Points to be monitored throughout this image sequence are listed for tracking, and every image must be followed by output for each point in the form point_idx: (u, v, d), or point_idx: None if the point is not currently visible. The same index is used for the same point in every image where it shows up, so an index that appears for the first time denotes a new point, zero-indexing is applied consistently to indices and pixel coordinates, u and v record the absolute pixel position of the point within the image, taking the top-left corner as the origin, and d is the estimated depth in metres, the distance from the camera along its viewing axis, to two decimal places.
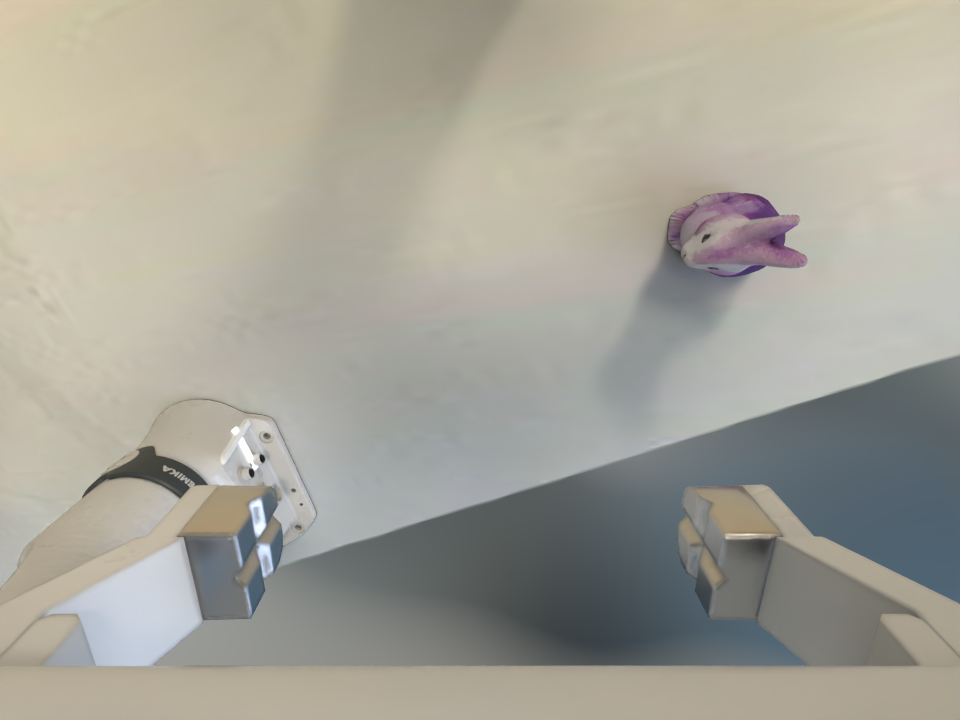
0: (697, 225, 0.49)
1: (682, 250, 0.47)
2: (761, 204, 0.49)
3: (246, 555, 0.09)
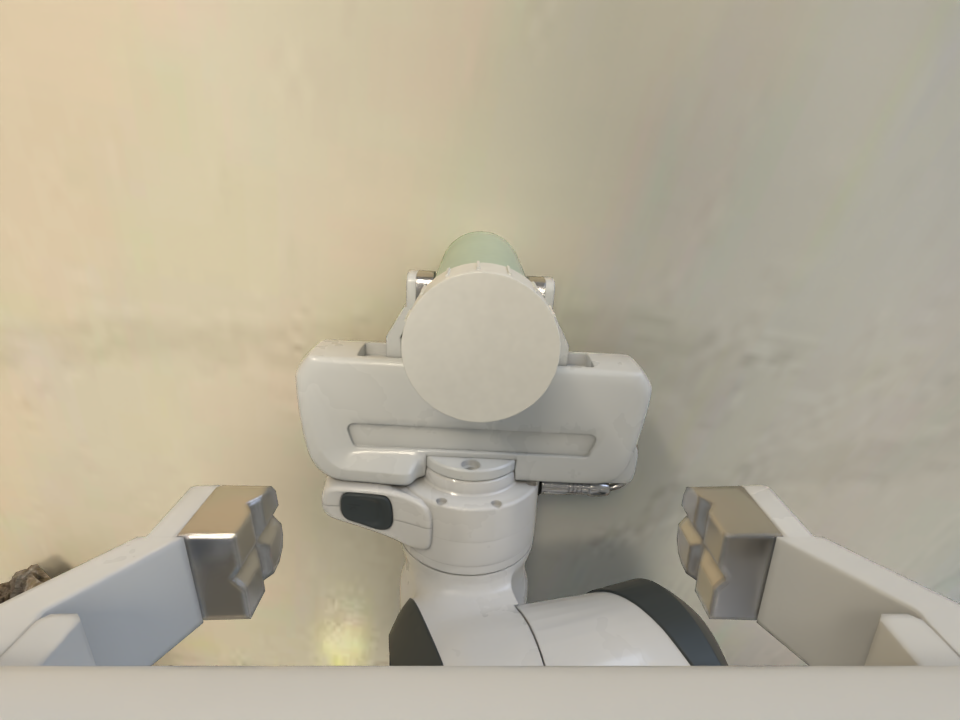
0: None
1: None
2: None
3: (246, 555, 0.09)
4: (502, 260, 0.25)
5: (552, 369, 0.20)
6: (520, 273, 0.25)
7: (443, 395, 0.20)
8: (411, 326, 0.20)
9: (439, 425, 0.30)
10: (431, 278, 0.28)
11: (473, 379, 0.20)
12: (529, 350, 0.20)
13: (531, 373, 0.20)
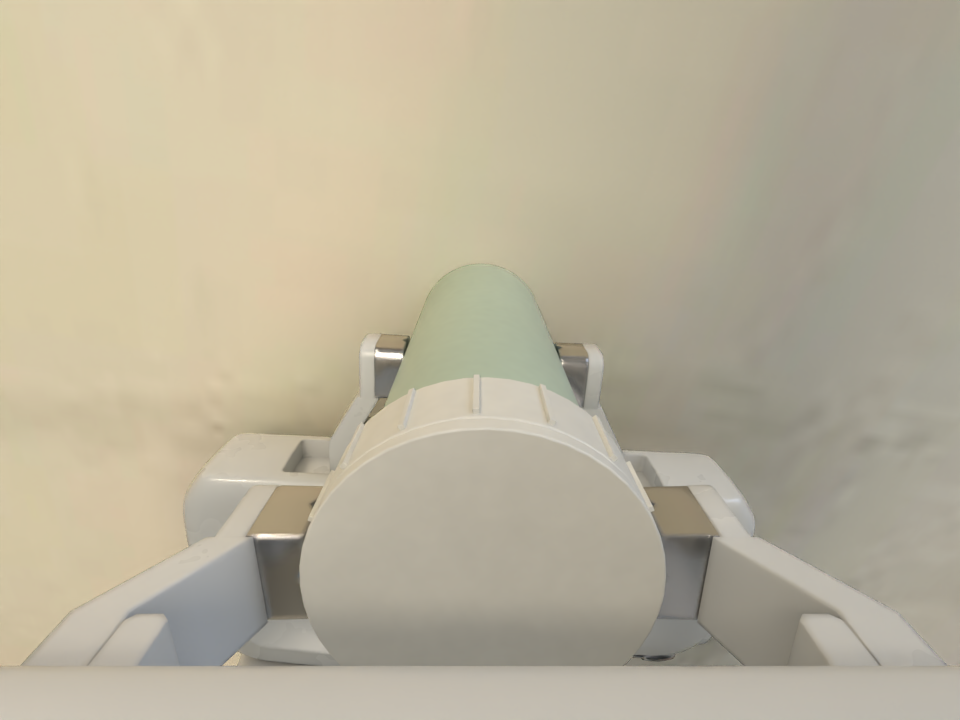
0: None
1: None
2: None
3: None
4: (521, 338, 0.14)
5: (644, 626, 0.09)
6: (554, 361, 0.14)
7: None
8: (320, 543, 0.08)
9: None
10: (400, 351, 0.17)
11: (465, 645, 0.09)
12: (594, 589, 0.09)
13: (596, 633, 0.09)
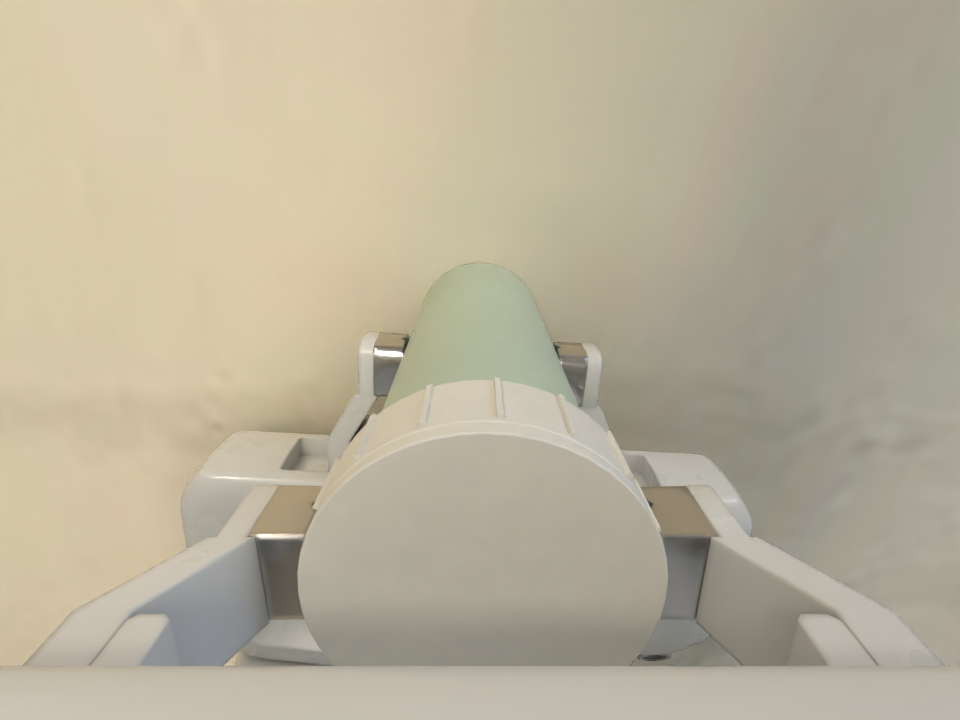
0: None
1: None
2: None
3: None
4: (521, 338, 0.14)
5: (555, 456, 0.08)
6: (553, 361, 0.14)
7: None
8: None
9: None
10: (399, 350, 0.17)
11: (550, 616, 0.09)
12: (495, 501, 0.08)
13: (557, 502, 0.08)
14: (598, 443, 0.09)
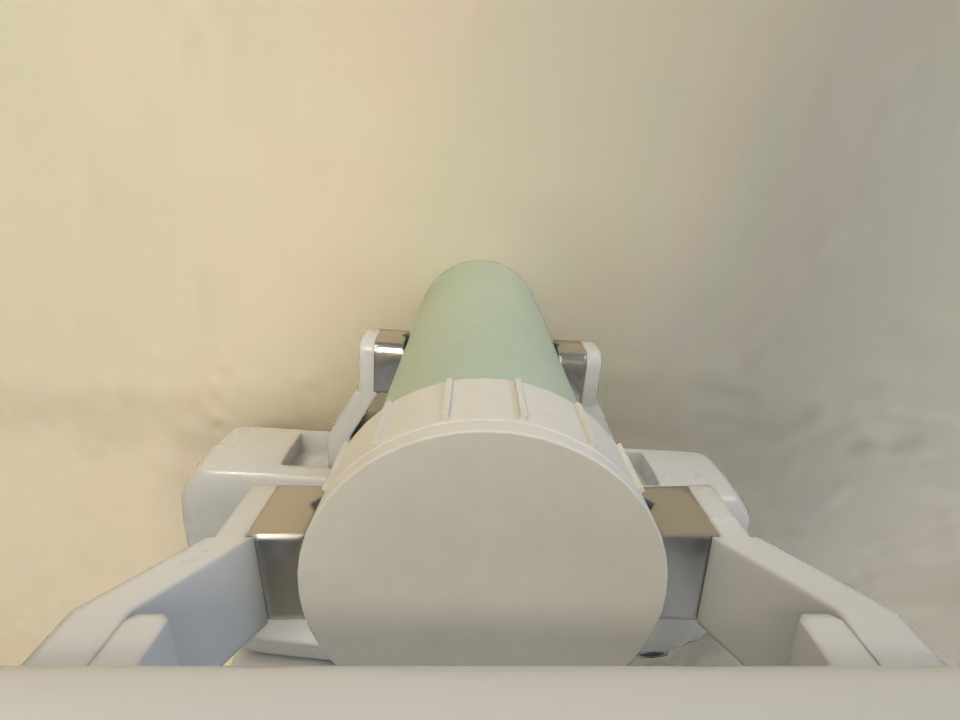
0: None
1: None
2: None
3: None
4: (520, 335, 0.14)
5: (320, 528, 0.08)
6: (553, 358, 0.14)
7: (602, 522, 0.08)
8: (613, 664, 0.09)
9: None
10: (399, 346, 0.17)
11: (518, 541, 0.08)
12: (371, 574, 0.08)
13: (374, 528, 0.08)
14: (352, 453, 0.09)
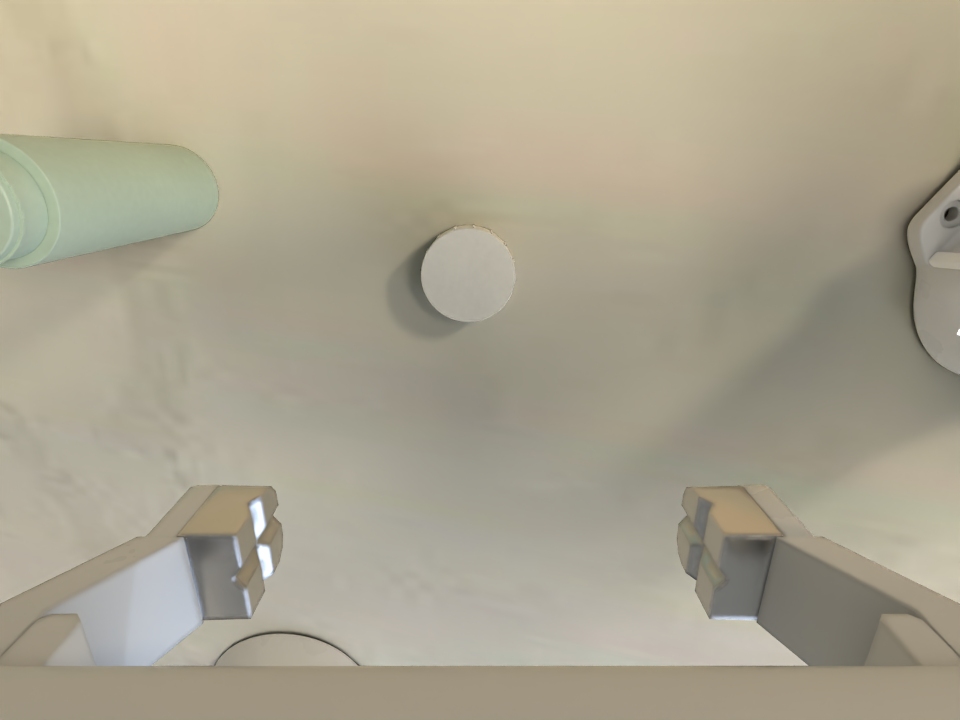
0: None
1: None
2: None
3: (246, 555, 0.09)
4: (122, 215, 0.25)
5: (498, 307, 0.34)
6: (114, 235, 0.25)
7: (434, 289, 0.34)
8: (440, 242, 0.33)
9: None
10: None
11: (455, 290, 0.34)
12: (493, 291, 0.34)
13: (486, 303, 0.34)
14: None
